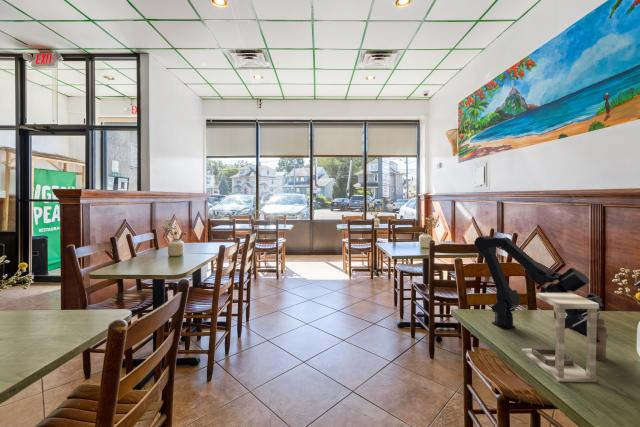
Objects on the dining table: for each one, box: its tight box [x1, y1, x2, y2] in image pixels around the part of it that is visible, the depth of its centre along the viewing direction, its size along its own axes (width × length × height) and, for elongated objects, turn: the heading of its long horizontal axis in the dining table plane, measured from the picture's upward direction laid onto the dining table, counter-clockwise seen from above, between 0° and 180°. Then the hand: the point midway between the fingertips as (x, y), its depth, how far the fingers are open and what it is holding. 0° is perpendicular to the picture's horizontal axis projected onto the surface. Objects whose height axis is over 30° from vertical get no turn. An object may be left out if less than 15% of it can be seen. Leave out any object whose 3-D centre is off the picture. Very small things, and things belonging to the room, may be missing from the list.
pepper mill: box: [596, 317, 607, 361], centre depth 104 cm, size 4×4×13 cm
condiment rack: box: [521, 292, 600, 383], centre depth 99 cm, size 18×11×24 cm, turn 177°
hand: (602, 339), depth 103 cm, fingers open, 6 cm apart
